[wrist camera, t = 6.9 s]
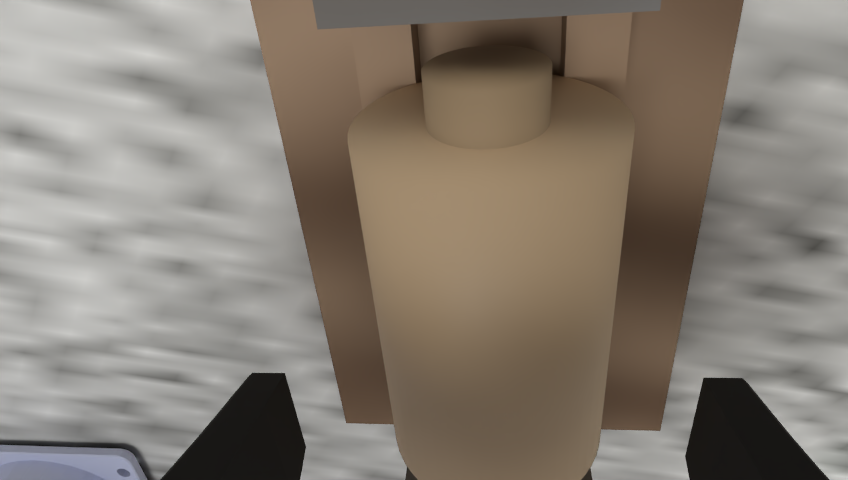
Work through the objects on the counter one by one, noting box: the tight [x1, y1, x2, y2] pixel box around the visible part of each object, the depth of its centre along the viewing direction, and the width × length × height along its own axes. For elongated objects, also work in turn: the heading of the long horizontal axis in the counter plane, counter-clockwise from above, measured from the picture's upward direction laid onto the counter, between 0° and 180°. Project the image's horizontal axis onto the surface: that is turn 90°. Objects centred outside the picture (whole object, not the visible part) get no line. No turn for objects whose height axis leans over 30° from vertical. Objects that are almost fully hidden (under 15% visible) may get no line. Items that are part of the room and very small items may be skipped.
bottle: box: [347, 45, 635, 480], centre depth 14 cm, size 10×5×5 cm, turn 5°
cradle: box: [250, 0, 744, 480], centre depth 15 cm, size 16×10×5 cm, turn 4°
